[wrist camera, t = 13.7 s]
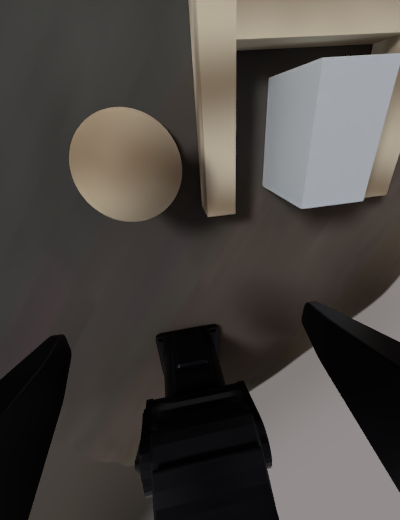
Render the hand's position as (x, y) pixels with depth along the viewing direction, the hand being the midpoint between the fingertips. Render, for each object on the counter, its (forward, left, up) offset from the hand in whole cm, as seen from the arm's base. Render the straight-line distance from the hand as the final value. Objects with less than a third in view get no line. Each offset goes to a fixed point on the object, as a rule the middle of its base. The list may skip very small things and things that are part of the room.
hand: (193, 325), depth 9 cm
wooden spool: (+5, +2, -12) cm, 13 cm away
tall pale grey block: (+5, -9, -12) cm, 16 cm away
